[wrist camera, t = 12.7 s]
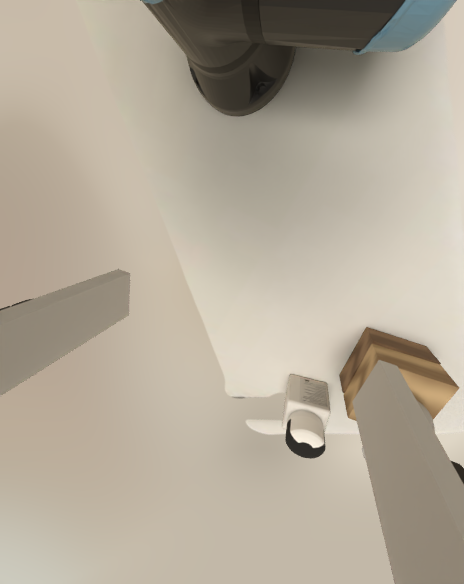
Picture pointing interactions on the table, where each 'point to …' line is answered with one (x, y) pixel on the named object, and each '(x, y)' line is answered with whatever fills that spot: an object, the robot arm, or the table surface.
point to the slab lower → (385, 341)
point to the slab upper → (406, 379)
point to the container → (306, 416)
